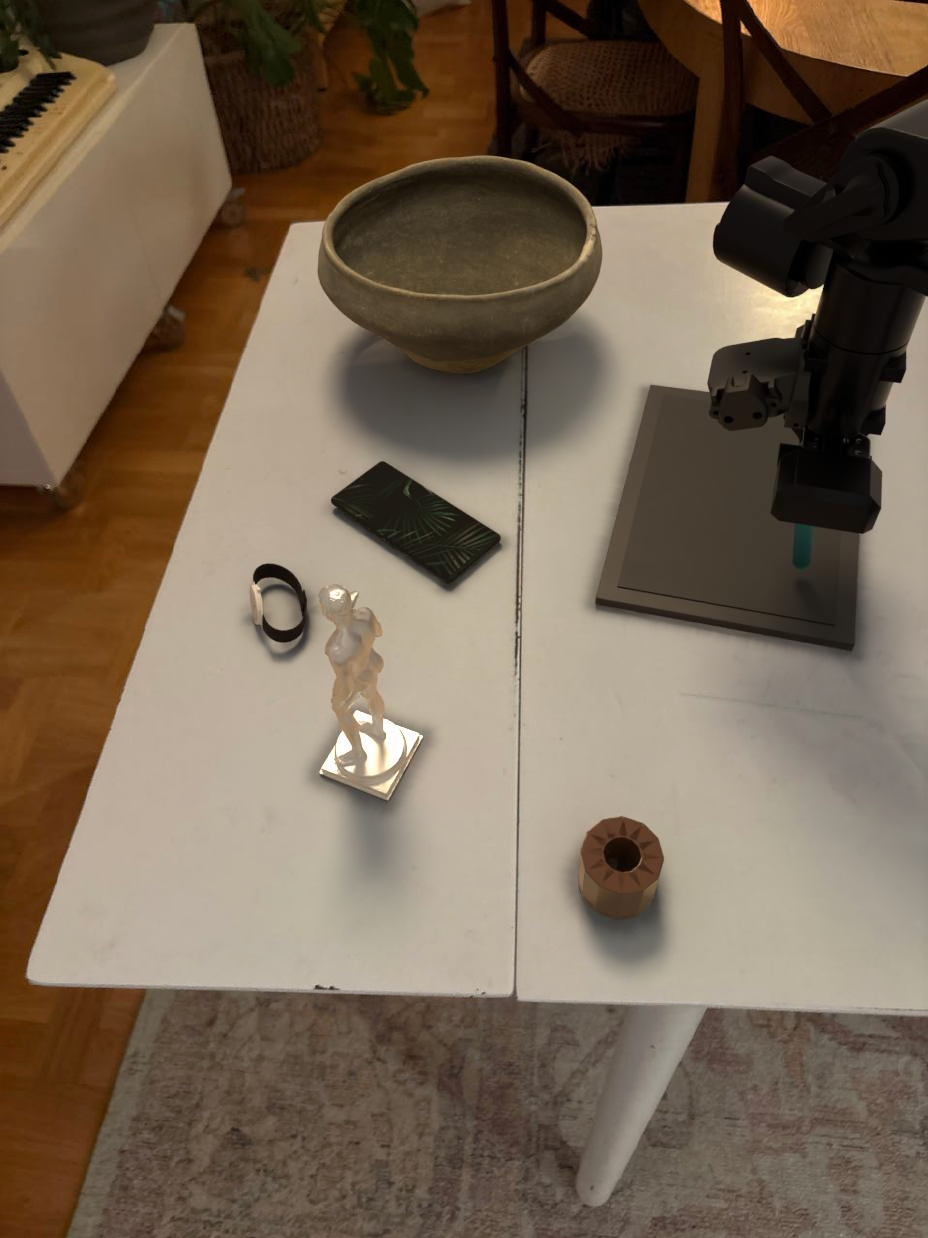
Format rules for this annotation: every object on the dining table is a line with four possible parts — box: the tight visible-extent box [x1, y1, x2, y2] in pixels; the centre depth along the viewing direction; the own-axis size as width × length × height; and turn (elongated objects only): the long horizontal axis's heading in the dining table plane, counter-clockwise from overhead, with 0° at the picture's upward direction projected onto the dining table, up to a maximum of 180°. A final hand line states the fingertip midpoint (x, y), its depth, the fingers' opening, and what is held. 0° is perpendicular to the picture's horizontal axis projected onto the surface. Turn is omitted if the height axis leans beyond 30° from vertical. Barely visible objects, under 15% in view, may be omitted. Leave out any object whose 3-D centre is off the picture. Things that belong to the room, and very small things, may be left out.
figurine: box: [317, 584, 424, 802], centre depth 60 cm, size 8×7×18 cm
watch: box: [249, 562, 308, 644], centre depth 74 cm, size 8×5×4 cm, turn 20°
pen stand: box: [577, 815, 665, 920], centre depth 58 cm, size 5×5×4 cm
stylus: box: [792, 441, 814, 570], centre depth 68 cm, size 1×1×13 cm
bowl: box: [317, 155, 603, 374], centre depth 92 cm, size 28×28×14 cm
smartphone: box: [330, 460, 502, 585], centre depth 81 cm, size 7×1×15 cm
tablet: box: [594, 384, 860, 652], centre depth 80 cm, size 28×20×1 cm
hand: (803, 507), depth 68 cm, fingers closed on stylus, 1 cm apart
